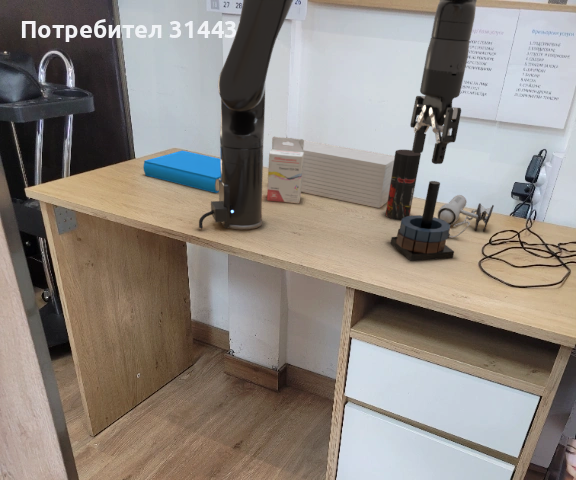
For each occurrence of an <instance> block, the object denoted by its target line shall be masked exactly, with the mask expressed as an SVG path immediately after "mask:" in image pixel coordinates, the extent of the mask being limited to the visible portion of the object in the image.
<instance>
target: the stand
mask: <svg viewBox="0 0 576 480" xmlns="http://www.w3.org/2000/svg"><path fill="white" fill-rule="evenodd" d="M440 187H441V182H439V181H436V180H430V181H429V182H428V186H427V192H426V197H425V202H424V207H423V212H422V215H423V216H422V215H421V216H422V221H421V226H420V228H425V229H431V225H432V220H433V218H434V215H435V210H436V206H437V201H438V196H439V192H440ZM396 240H397V236H391V238H390V244H391V245H392V247H394V248H395V249H396V250H398V251H399V252H400V253H401V254H402V255H403V256H404V257H406V259H408V260H409V262H418V261H428V260H429V261H430V260H445V259H453V258H454V256H455V255H454V254H455V250H453V249H452V248H450V247H449V246H448V245H446V244H445V247H444V249H443V250H441V251H439V252H437V253H426V252H425V253H419V252H414V251H410V250H407V249H404V248H403V247H400V246H399V245H398V244H397V243H396Z"/></svg>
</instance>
